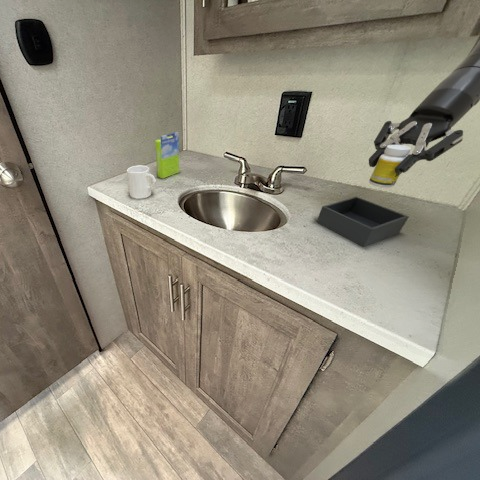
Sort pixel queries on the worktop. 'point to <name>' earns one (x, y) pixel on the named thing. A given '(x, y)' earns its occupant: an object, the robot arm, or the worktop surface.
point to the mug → (140, 181)
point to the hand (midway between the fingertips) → (383, 168)
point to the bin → (361, 220)
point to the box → (167, 155)
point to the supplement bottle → (388, 166)
